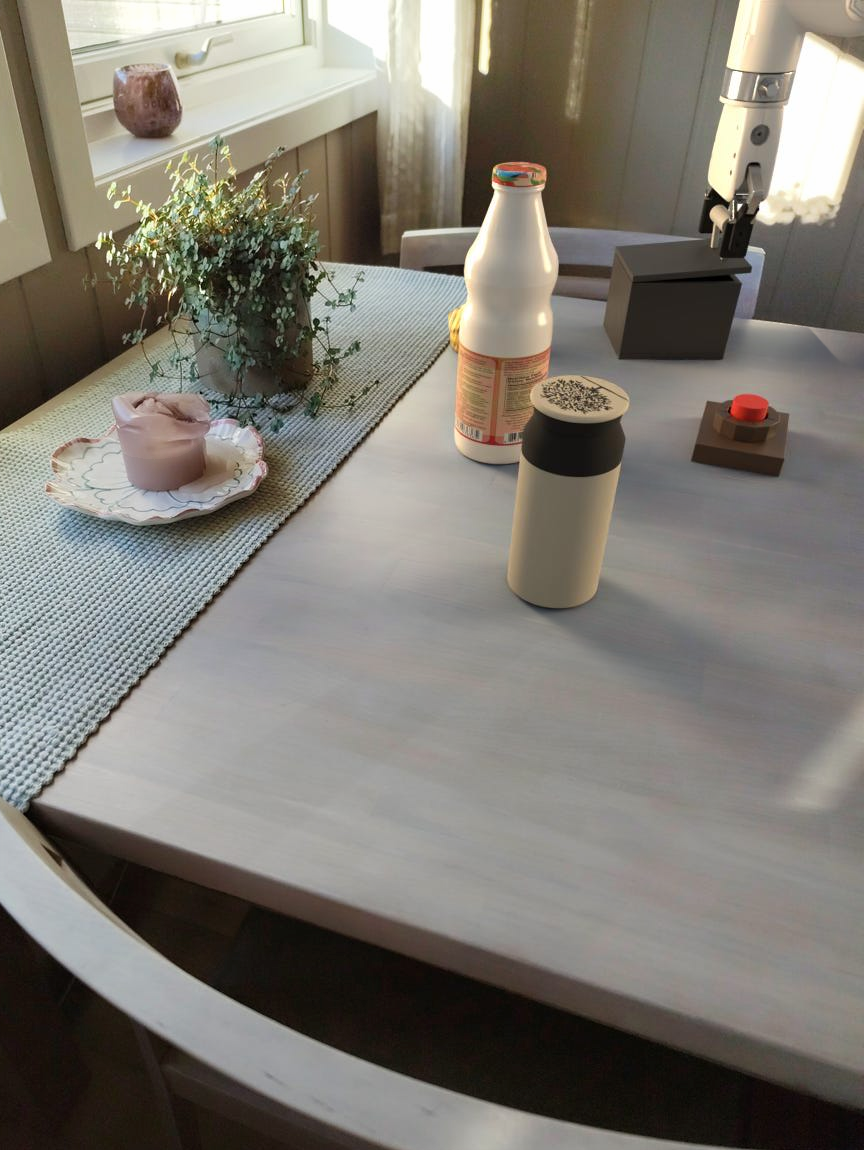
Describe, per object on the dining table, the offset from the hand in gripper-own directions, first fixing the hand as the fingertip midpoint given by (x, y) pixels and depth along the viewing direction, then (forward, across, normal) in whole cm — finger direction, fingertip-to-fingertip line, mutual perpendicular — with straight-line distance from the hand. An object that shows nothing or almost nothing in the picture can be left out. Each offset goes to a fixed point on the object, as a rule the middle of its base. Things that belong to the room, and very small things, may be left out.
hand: (720, 244), depth 113 cm
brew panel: (+13, -29, +3) cm, 32 cm away
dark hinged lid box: (+13, 0, +5) cm, 14 cm away
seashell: (+13, -2, +30) cm, 32 cm away
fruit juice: (+13, -29, +30) cm, 43 cm away
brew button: (+9, -29, +3) cm, 31 cm away
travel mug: (+13, -54, +27) cm, 62 cm away
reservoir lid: (+2, 0, +5) cm, 5 cm away
